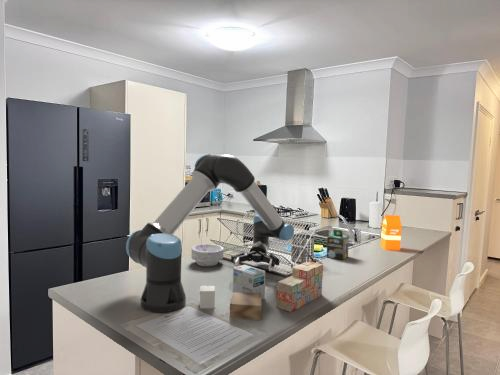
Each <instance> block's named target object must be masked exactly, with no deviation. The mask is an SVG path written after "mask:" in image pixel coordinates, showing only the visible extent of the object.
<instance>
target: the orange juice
mask: <svg viewBox="0 0 500 375" xmlns="http://www.w3.org/2000/svg"><path fill="white" fill-rule="evenodd" d="M380 236H381V239H380V248H382V249H383V250H385V251H400V250H401V241H402V221H401V216H400V215H390V214H384V218H383V219H382V223H381V235H380Z"/></svg>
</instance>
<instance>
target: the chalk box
mask: <svg viewBox="0 0 500 375" xmlns="http://www.w3.org/2000/svg"><path fill="white" fill-rule="evenodd" d="M337 233H339V234H337ZM326 238H327V239H326V258H330V259H335V260H339V261H344V260H345V259H346V258H347V257H349V247H350V246H349V243H350V242H349V238H350V235H345V234H343V230H339V229H333V234H330V235H328V236H327V237H326Z"/></svg>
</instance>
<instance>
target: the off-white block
mask: <svg viewBox="0 0 500 375" xmlns="http://www.w3.org/2000/svg"><path fill="white" fill-rule="evenodd" d="M199 292H200V293H199V309H215V304H216V287H215V285H200V288H199Z"/></svg>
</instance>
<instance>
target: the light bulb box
mask: <svg viewBox="0 0 500 375" xmlns="http://www.w3.org/2000/svg"><path fill="white" fill-rule="evenodd" d="M232 269H233V272H232V273H233V274H232V293H233V292H237V293H256V294H262V300H261V301H263V300H265V298H266V296H265V295H266V293H265V292H266V270H264V269H260V268H256V267H253V266H250V265H247V264H242V265H238V267H235V266H234V267H233V268H232Z"/></svg>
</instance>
